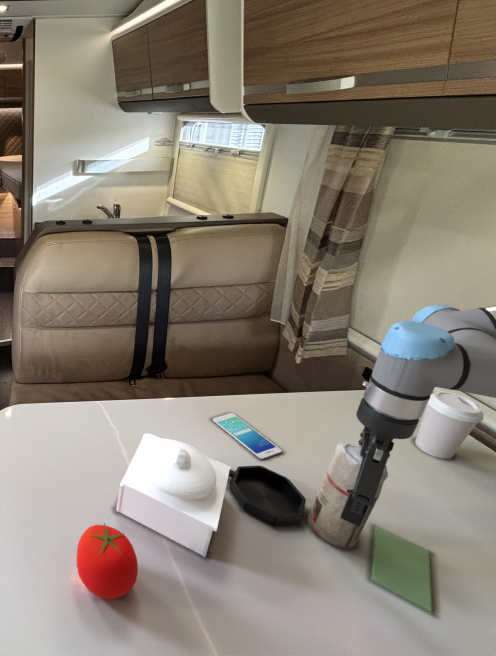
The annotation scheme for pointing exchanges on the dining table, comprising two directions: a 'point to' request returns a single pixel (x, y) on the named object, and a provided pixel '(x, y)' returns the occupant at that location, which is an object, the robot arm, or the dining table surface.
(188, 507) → the butter dish
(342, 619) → the dining table surface
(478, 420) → the coffee cup
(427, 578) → the green flat panel
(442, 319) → the robot arm
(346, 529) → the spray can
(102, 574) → the tomato
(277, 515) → the black octagonal pan
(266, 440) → the smartphone
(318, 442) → the dining table surface
